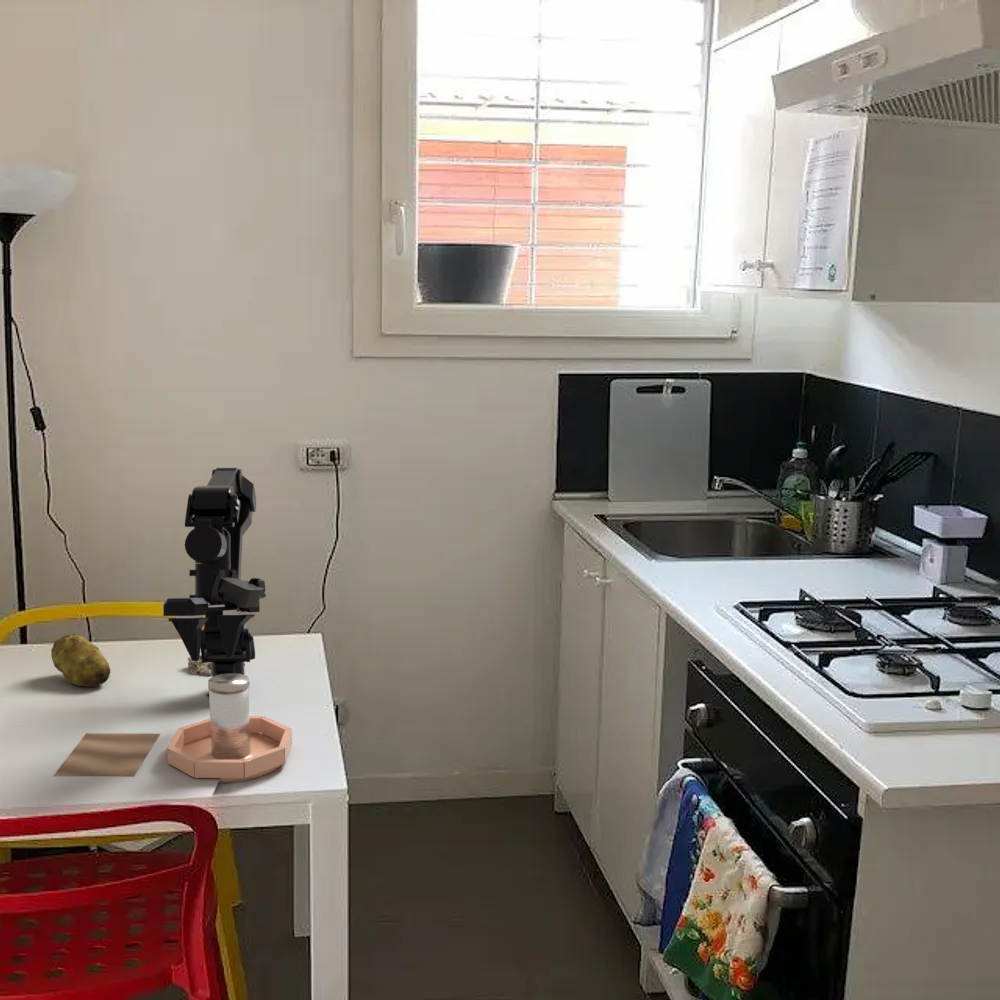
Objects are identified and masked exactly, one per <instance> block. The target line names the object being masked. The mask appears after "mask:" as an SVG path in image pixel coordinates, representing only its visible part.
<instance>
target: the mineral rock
mask: <svg viewBox="0 0 1000 1000" xmlns="http://www.w3.org/2000/svg"><path fill="white" fill-rule="evenodd" d="M187 661H188V662H187V668H188V669H189V670H190V672H191V673H192V674H195V675H200V676H205V677H208V676H212V663H211V662H205V663H202V656H201V654H200V657H199V661H192V659H191V657H190V656H188V657H187ZM245 666H246V662H244V667H245Z"/></svg>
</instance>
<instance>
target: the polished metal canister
mask: <svg viewBox="0 0 1000 1000" xmlns="http://www.w3.org/2000/svg"><path fill="white" fill-rule="evenodd" d="M249 682H250V678H249V676H247V675H246V674H245V675H243V674H237V673H227V674H220V675H216V676H214V677H212V676H211V677H210V678H209V679H208V680H207V686H208V692H209V697H208V699H209V719H210V727H211V754H212V757H213V758H215V759H218V760H239V759H242V758H245V757H247V756H248V755H249V754H250V752H251V747H250V716H251V713H250V685H249Z"/></svg>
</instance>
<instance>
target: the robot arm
mask: <svg viewBox="0 0 1000 1000" xmlns="http://www.w3.org/2000/svg"><path fill="white" fill-rule="evenodd" d="M256 495H257V494H256V490H255V485H254V483H253V482H251V480H249V479H248V478H246V477H245V476H244V475H243V471H242V469H241V468H240V469H239V468H238V467H216V468H213V469H212V473H211V478H210V479H209V480H208V483H207V484H206V485H199V486H195V487H194V488H193V489H192V491H191V494H188V498H187V504H186V511H185V519H184V528H193V529H192V530H190V532H188V534H187V535H186V537H185V541H184V548H185V551H186V554H187V555H188V556H189V558H190V559H192V560H193V561H194V569H189V572H188V573H189V575H188V576H189V577H194V594H189V597H174V598H167V599H166V600H165V601H164V603H163V604H162V616H163V617H168V618H167V620H168V622H171V623H172V624H173V626H174V628H175V630H176V632H177V634H178V635H179V637H180V638H181V641H182V642H183V645H184V647H185V649H186V651H187V653H188V655H189V657H191V659H192V661H199V657H200V655H201V656H202V663H205V662H211V663H212V675H211V678H212V677H214V676H216V675H220V674H227V673H237V674H243V675H246V674H245V666H244V664H245V663H246V662H247V663H250V662H251V660H252V661H253V660H254V659H256V648H255V647H256V646H255V641H254V636H253V635H252V634H251V630H250V628H248V624H247V623H248V621H250V620H251V619H252V618H254V617H255V616H256V614H251V613H260V611H261V610H260V600H262V599H265V598H266V595H267V593H266V582H265V580H264V579H262V578H259V577H252V578H250V580H249V581H248V580H241V578H242V577H241V576H242V575H241V574H242V556H243V555H242V554H243V536H244V534H245V533H246V532H247V530H249V527H251V525H252V523H253V514H254V513H256V511H257V496H256ZM203 616H205V617H203ZM244 662H245V663H244ZM250 684H251V683H250V681H249V686H251V685H250ZM206 696H207V697H208V698H209V691H208V692H207V694H206Z"/></svg>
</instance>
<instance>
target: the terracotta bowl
mask: <svg viewBox="0 0 1000 1000" xmlns="http://www.w3.org/2000/svg"><path fill="white" fill-rule="evenodd" d="M292 746H293V729H292V728H291V727H289V726H287V725H284V724H282V723H281V722H278V721H276V720H274V719H272V718H270V717H267V716H266V715H250V747H251V752H250V754H249V755H248V756H247V757H245V758H242V759H239V760H218V759H215V758H213V757H212V754H211V727H210V718H208V719H205V720H201V721H198V722H195V723H194V722H193V723H192V724H191V723H190V724H188V725H185V726H182V727H179V728H177V730H176V731H175V733H174V735H173V736H172V738H171V739H170V742H169V744H168V745H167V746H166V752H167V753H166V756H167V764H169V765H170V766H173V767H175V768H176V769H178V770H179V771H181V772H183V773H185V774H187V775H188V776H191V777H192V778H195V779H218V783H219V784H220V783H221V784H223V783H238V782H245V781H248V780H249V781H250V780H254V779H257V777H258V778H260V777H264V776H266V775H269V774H271V773H273V772H275V771H276V770H278V769H279V768H280V767H281V766H282V765H284V764H285V763H286V762H287V759H288V756H289V753H290V752H291V748H292ZM278 767H279V768H278ZM277 768H278V769H277ZM275 769H276V770H275ZM272 771H273V772H272ZM270 772H271V773H270ZM268 773H269V774H268ZM263 775H264V776H263ZM253 778H254V779H253Z"/></svg>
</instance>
